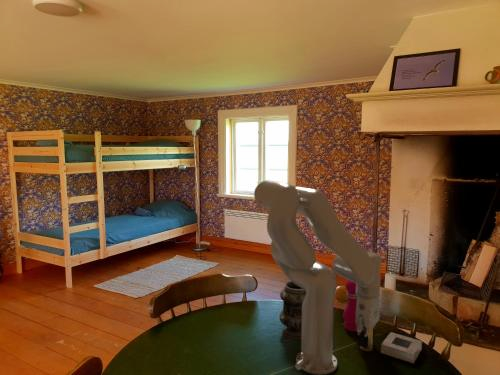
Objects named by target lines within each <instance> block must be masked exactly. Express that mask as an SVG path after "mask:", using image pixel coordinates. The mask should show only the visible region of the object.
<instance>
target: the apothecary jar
mask: <svg viewBox="0 0 500 375" xmlns="http://www.w3.org/2000/svg"><path fill="white" fill-rule="evenodd" d="M279 296H280V299H281V300H282V301H283V302H282V303H283V307H282V310H281V311H280V313H279V321H280V323H282V325H283V326H284V327H283V328H282V331H281V332H282V334H283V336H284V337H287V338H289V339H293V340H301V330H302V303H303V300H304V299H305V296H306V291H305V290H304V289H302V288H301V287H299V286H297V285H296V284H294V283H293V282H292V281H291V280H290V281H287V282H285V284H284V288H283V289H281V291H280V292H279Z"/></svg>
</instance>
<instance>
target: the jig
mask: <svg viewBox="0 0 500 375" xmlns="http://www.w3.org/2000/svg"><path fill="white" fill-rule="evenodd" d="M422 344H423V341H422V340H419V339H416V338H413V337H410V336H407V335H402V334H399V333H395V332H392V331H391V332H390V333H389V334H388V335H387V336H386V337H385V339H384V340H383V341H382V342H381V344H380V346H381V347H380V353H381V354H383V355H387V356H390V357H393V358H396V359H399V360H401V361H405V362H408V363H411V364H415V362H416V360H417V358H418V356H419V355H420V352H422V346H423V345H422Z"/></svg>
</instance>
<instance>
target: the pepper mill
mask: <svg viewBox="0 0 500 375" xmlns="http://www.w3.org/2000/svg"><path fill="white" fill-rule="evenodd" d="M345 289H346V291H347V292H346V296H347V304H346V305H345V308H344V310H343V313H342V318H343V319H344V324H343V326H344V328H345V329H346V330H347V331H349V332H358V331H357V325H356V306H357V297H358V296H357V295H356V283H355V282H353V281H350V280H348V279H347V281H346V283H345Z"/></svg>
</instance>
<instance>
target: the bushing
mask: <svg viewBox="0 0 500 375" xmlns="http://www.w3.org/2000/svg"><path fill="white" fill-rule="evenodd" d="M363 326H365V324H363ZM362 329H363V330H364V331H365V328H362ZM373 329H374V328H373V327H372V328H371V329H368V333H367V336H368V348H364V347H361V346H359V349H360V350H362V351H364V352H371V351H373V342H374V341H373Z"/></svg>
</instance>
